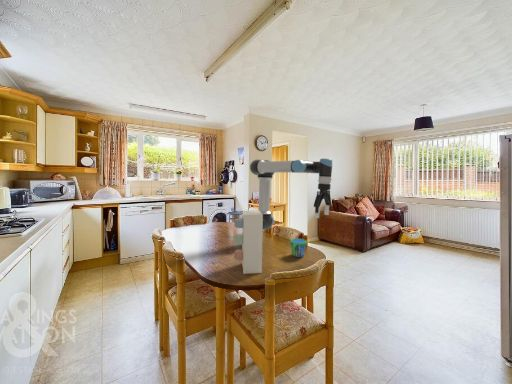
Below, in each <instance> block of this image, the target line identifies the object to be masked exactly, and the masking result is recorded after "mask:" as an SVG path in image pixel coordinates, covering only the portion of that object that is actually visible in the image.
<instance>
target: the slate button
mask: <svg viewBox="0 0 512 384" xmlns="http://www.w3.org/2000/svg"><path fill="white" fill-rule="evenodd" d="M233 222H234V228H236V229H242V228H243V219H242V218H235V219H234V221H233Z"/></svg>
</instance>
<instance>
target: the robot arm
mask: <svg viewBox="0 0 512 384" xmlns="http://www.w3.org/2000/svg"><path fill="white" fill-rule="evenodd" d="M249 170H250V172H251V173H252V174H253V175H255V176H257V179H258V181H259V182H258V210H257V211H260V212H261V213H262V214H263V230H262V231H265V230H268V229H271V228H272V227H273V226H274V223H275V220H274V219H275V218H274V217H273V215H272V212H271V210H270V206H271V180H272V179H273V177H274V174H276V173H297V174H301V173H302V174H305V173H306V174H318V180H317V181H318V185H317V189H318V190H319V191H318V190H317V191H316V196H315V199H314V202H313V208H314V218H316V219H320V212H321V208H320V207H321V204H322V202H323V200H324V203H325V205H324V213H323V215H324V216H325V215H326V216H329V214H330V206H332V198H331V183H332V173H333V172H332V171H333V159H332V158H320V159H319V161H310V160H302V159H296V160H273V161H271V160H269V159H255V160H252V162H251V163H250V165H249ZM240 245H241V248H242V244H240Z"/></svg>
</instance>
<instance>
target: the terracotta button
mask: <svg viewBox="0 0 512 384" xmlns="http://www.w3.org/2000/svg"><path fill="white" fill-rule="evenodd" d="M233 257H234V258H233V259H235V260H236V261H242V260H243V250H242V249H235V250H234V253H233Z"/></svg>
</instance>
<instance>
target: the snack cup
mask: <svg viewBox="0 0 512 384" xmlns="http://www.w3.org/2000/svg"><path fill="white" fill-rule="evenodd" d="M289 243H290V246H291V248H290V249H291V254H292V255H291V256H293V257H295V258H303V257H304V256H305V251H306V246H307V243H308V241H307V240H306V239H303V238H292V239H290V241H289Z"/></svg>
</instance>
